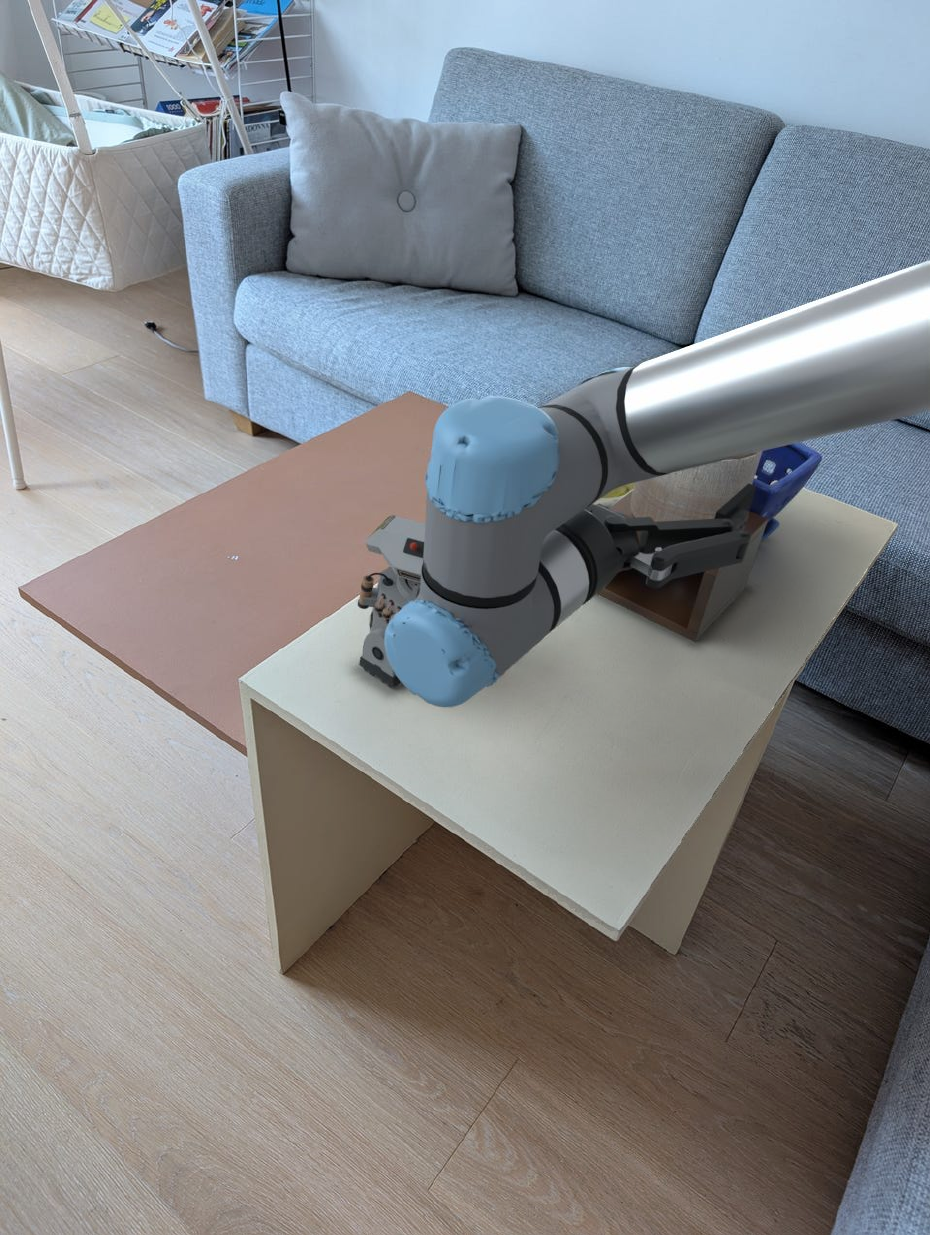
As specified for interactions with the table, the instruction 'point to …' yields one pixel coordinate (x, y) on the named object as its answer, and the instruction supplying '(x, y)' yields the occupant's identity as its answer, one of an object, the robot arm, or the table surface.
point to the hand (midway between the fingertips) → (679, 469)
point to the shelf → (685, 587)
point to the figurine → (390, 587)
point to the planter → (693, 490)
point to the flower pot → (781, 480)
